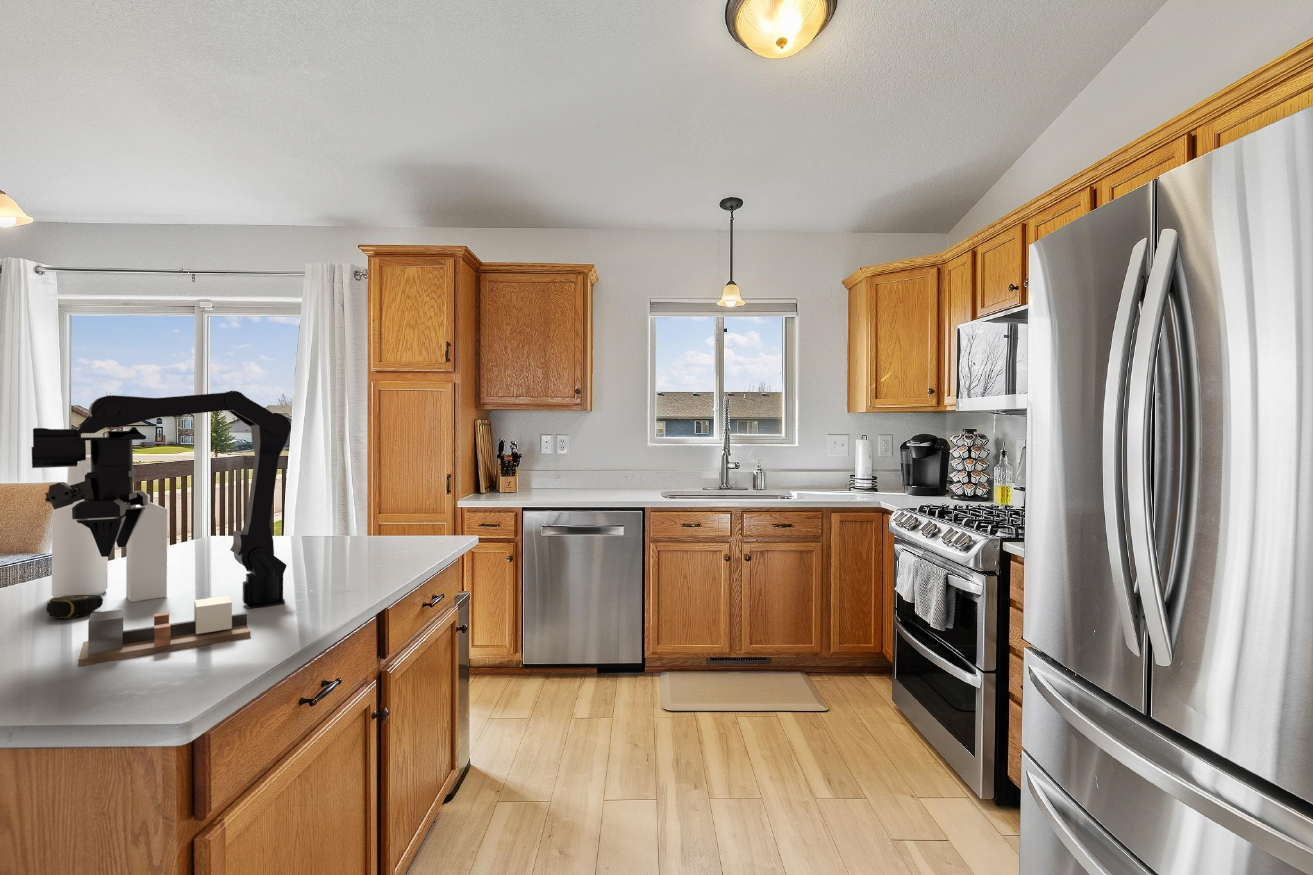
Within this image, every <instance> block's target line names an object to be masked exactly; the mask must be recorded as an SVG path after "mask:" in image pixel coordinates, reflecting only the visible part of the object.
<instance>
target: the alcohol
mask: <svg viewBox="0 0 1313 875" xmlns="http://www.w3.org/2000/svg"><path fill="white" fill-rule="evenodd" d="M87 472H91V454H86V460H85V461H78V463H77V467H68V471H67V480H66V484H67V485H69V486H70V485H73V484H77V483H80V482H83V481H85V474H87ZM82 501H84V499H83V500H80V501H77V502H74V503H73V504H71V505H68V506H65V507H62V508H58V509H55V510H54V509H53V513H52V515H51V596H53V599H54V598H58V597H62V596H67V595H98V596H101V595H103V594H105V592H106V591H107V589H108V586H109V585H108V584H109V583H108V582H109V580H108V578H109V577H108V575H109V573H108V572H109V569H108V564H109V561H108V560H109V558H108V557H109V556H108V557H102V556H101V555H100V552H99V549H98V547H97V544H96V542H95V539H94V537H93V534H92V532H91V530H90V529H89V528H88V527H86V526H84V525H83V524H81V523H78V522H77V521H76V520H78V519H72V508H73V507H74V506H75V505H76V504H78V503H79V502H82Z"/></svg>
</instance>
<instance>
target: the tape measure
mask: <svg viewBox="0 0 1313 875" xmlns="http://www.w3.org/2000/svg"><path fill="white" fill-rule="evenodd" d="M103 599H104V598H103V597H102V596H101V595H67V596H62V597H58V598H54V597H53V598H52V599H51V600H50V601H49V602H48V604H47V605H46V612H47V613H48V615H49V617H51V618H54V619H55V618H56V619H57V618H58V619H60V618H62V619H75V618H76V617H80V616H81V617H82V616H85V615H88V614H91V613H94V612H95V611H96V610H98V609H100V608H101V607H102V606H103V603H104V602H103V601H104V600H103Z"/></svg>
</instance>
